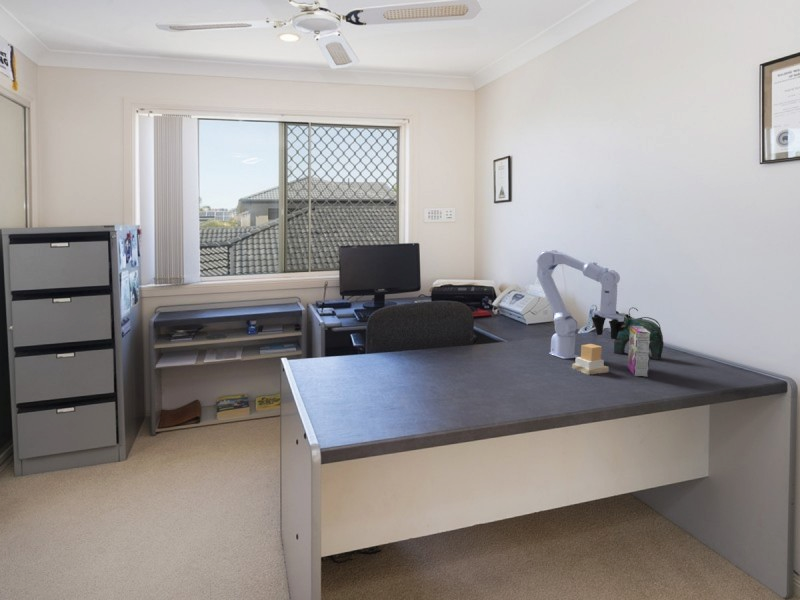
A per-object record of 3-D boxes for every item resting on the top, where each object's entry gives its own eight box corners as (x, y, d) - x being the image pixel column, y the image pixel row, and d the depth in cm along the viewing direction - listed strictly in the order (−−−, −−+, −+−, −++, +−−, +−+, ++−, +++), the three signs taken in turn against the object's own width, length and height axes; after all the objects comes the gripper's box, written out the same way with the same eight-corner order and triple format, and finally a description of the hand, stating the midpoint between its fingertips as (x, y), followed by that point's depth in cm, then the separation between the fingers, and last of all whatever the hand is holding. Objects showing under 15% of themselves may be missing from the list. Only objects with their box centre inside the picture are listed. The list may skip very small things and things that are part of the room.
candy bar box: (626, 368, 197) (629, 325, 195) (640, 368, 196) (643, 325, 194) (633, 376, 186) (636, 331, 184) (648, 377, 185) (651, 332, 183)
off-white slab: (575, 364, 196) (575, 357, 196) (589, 362, 199) (590, 355, 198) (588, 368, 190) (589, 362, 189) (603, 366, 192) (603, 360, 192)
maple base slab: (571, 370, 197) (572, 363, 197) (590, 367, 200) (591, 361, 200) (588, 376, 189) (589, 369, 188) (608, 373, 192) (608, 367, 192)
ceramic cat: (608, 353, 220) (611, 306, 217) (614, 350, 224) (616, 304, 221) (659, 361, 207) (663, 311, 204) (664, 358, 212) (667, 309, 209)
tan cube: (580, 358, 194) (581, 345, 194) (590, 356, 197) (591, 343, 196) (591, 361, 190) (591, 348, 189) (600, 359, 192) (601, 346, 192)
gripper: (587, 300, 206) (585, 333, 208) (614, 305, 193) (612, 341, 195) (601, 299, 209) (599, 332, 211) (629, 304, 195) (626, 339, 197)
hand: (606, 336), depth 203 cm, fingers open, 7 cm apart
